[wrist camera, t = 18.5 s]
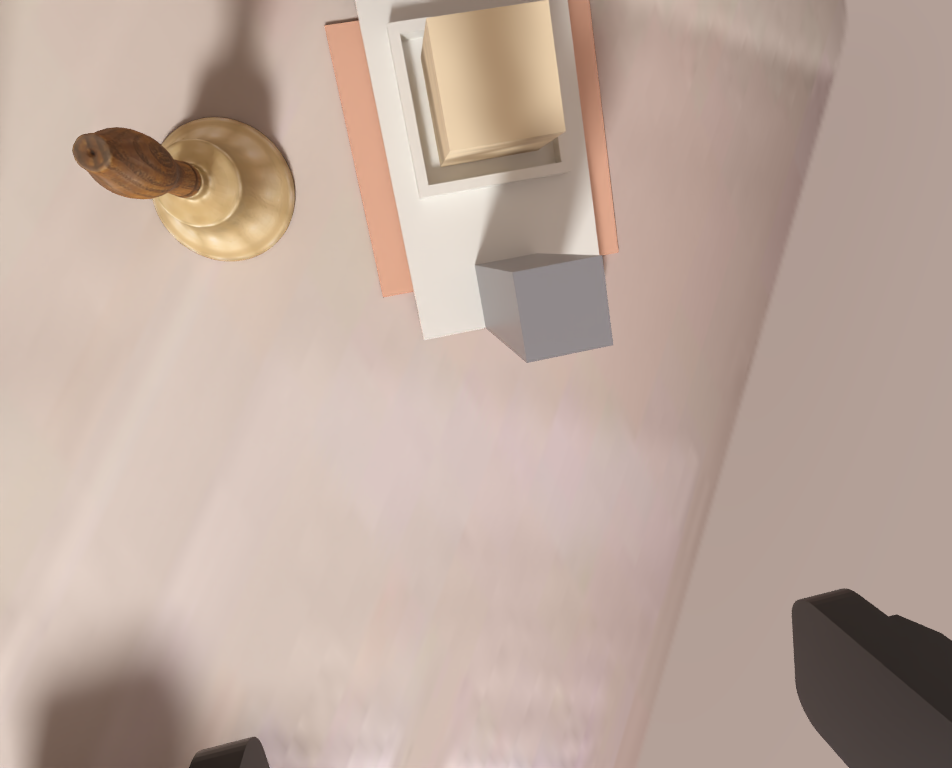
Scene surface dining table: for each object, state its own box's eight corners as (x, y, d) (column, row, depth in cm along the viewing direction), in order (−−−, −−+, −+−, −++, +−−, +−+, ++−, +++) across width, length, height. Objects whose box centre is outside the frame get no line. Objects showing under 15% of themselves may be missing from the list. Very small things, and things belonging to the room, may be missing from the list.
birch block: (440, 167, 35) (450, 151, 29) (420, 57, 34) (426, 17, 28) (537, 150, 36) (565, 131, 30) (522, 41, 34) (548, -1, 29)
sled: (422, 336, 39) (438, 381, 26) (354, -2, 34) (330, -159, 21) (597, 302, 40) (697, 327, 27) (555, -31, 35) (651, -197, 22)
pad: (383, 297, 38) (383, 297, 38) (324, 26, 35) (324, 25, 34) (617, 252, 40) (618, 252, 40) (586, -13, 36) (587, -14, 36)
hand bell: (243, 288, 37) (139, 316, 22) (123, 201, 35) (-86, 164, 20) (322, 182, 37) (271, 133, 21) (204, 86, 35) (51, -44, 19)
